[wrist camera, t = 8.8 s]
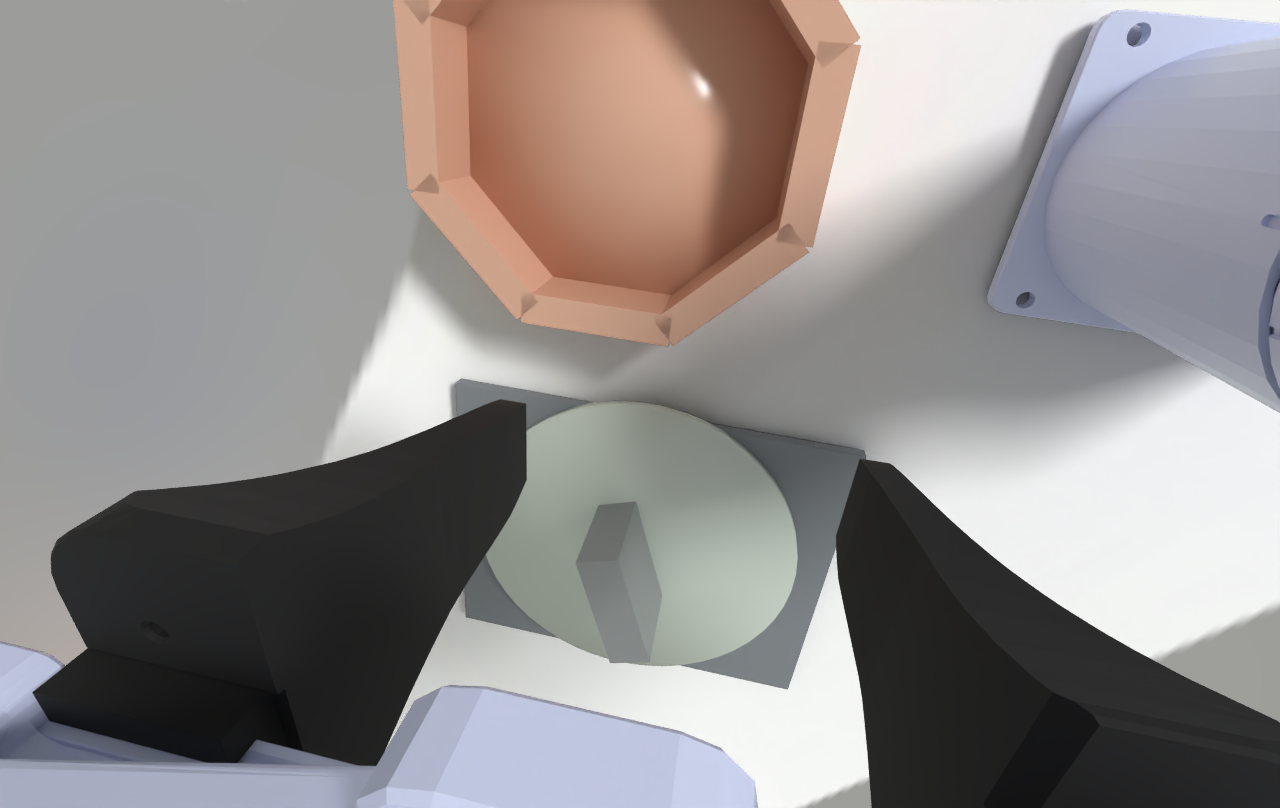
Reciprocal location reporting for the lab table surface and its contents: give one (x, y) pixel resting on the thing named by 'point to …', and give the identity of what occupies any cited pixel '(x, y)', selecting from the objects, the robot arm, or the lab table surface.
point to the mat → (814, 499)
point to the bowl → (623, 148)
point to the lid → (646, 536)
